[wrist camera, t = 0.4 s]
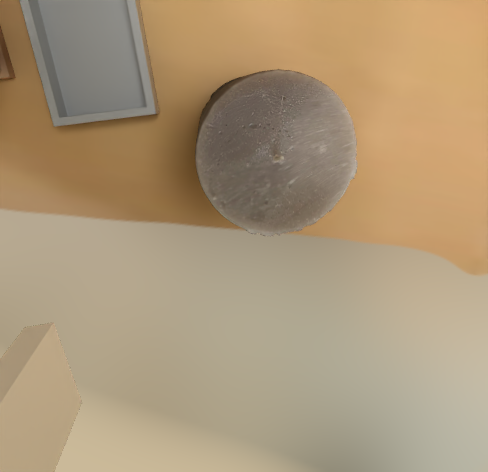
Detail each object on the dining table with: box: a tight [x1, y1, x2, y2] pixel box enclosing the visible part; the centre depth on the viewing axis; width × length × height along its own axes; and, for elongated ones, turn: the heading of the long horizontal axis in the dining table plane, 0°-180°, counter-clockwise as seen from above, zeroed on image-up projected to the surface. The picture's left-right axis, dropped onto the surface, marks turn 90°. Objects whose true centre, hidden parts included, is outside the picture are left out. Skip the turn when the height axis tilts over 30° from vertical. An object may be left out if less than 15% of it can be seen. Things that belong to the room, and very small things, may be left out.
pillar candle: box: [195, 69, 357, 236], centre depth 29 cm, size 10×10×15 cm
